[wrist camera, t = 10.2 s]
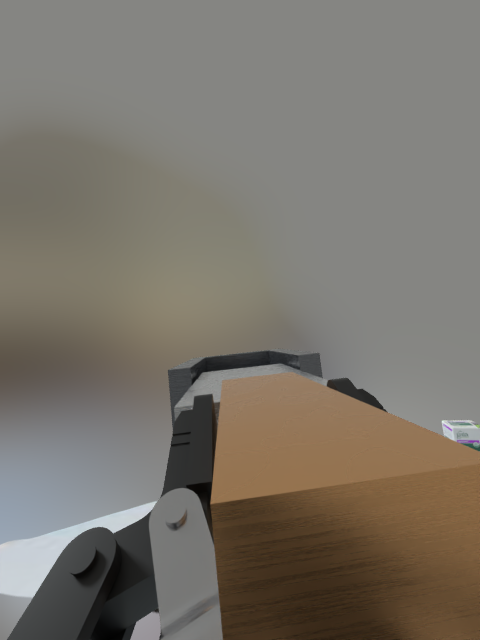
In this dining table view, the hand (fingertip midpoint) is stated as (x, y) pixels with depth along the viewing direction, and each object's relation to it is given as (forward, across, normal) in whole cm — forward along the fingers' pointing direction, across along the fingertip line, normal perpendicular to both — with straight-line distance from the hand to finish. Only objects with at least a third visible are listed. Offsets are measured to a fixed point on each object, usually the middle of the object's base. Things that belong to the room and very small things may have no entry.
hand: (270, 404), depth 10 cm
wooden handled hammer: (+3, 0, +6) cm, 7 cm away
